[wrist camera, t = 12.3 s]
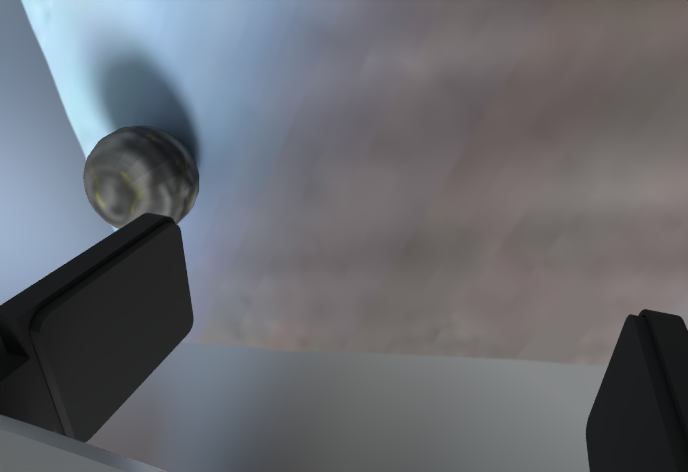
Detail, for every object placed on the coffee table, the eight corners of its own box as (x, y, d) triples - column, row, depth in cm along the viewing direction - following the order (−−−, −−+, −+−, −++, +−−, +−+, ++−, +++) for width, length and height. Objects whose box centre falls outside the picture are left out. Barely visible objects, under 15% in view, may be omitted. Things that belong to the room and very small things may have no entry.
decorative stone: (213, 118, 47) (144, 151, 39) (224, 214, 52) (165, 262, 44) (124, 109, 50) (42, 138, 42) (143, 200, 55) (73, 243, 46)
